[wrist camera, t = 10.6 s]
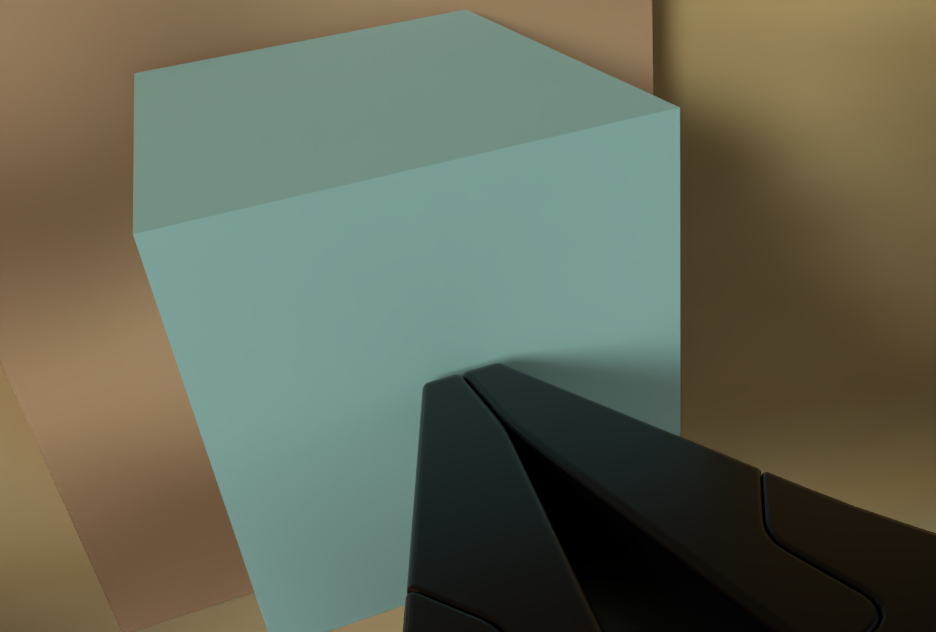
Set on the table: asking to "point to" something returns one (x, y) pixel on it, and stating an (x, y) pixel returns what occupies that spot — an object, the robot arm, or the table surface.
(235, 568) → the wooden base plate
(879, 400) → the table surface
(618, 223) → the pale teal block
